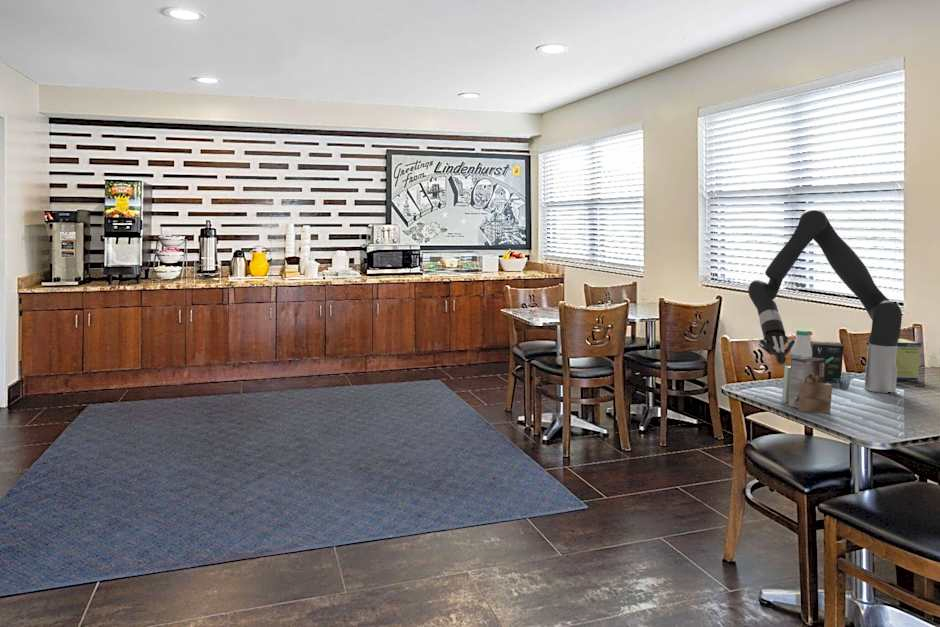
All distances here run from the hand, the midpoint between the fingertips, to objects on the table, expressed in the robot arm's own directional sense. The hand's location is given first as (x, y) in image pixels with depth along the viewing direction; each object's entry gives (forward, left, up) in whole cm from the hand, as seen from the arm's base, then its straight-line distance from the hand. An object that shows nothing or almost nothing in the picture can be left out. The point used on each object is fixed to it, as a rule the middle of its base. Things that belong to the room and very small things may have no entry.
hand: (782, 363), depth 258 cm
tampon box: (-27, -27, -11) cm, 39 cm away
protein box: (-56, -33, -11) cm, 66 cm away
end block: (-1, +27, -11) cm, 29 cm away
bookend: (0, +15, -11) cm, 18 cm away
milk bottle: (-15, -21, -11) cm, 28 cm away
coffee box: (-1, +21, -11) cm, 24 cm away
